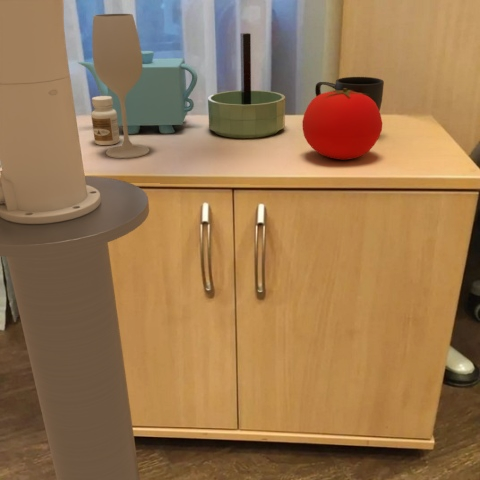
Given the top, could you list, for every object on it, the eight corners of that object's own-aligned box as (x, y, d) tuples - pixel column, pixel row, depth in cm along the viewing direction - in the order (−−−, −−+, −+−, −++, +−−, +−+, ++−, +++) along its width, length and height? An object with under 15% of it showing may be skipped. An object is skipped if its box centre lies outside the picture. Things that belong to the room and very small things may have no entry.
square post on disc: (239, 129, 111) (238, 35, 103) (231, 124, 115) (229, 33, 107) (261, 127, 112) (261, 33, 105) (252, 122, 116) (252, 31, 108)
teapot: (201, 120, 122) (198, 46, 115) (197, 133, 112) (193, 54, 105) (93, 122, 122) (83, 48, 115) (79, 135, 112) (68, 56, 106)
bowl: (224, 142, 106) (223, 107, 103) (199, 125, 118) (198, 93, 115) (297, 134, 110) (298, 100, 107) (266, 118, 122) (266, 87, 119)
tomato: (391, 160, 95) (399, 90, 90) (325, 171, 91) (329, 98, 86) (351, 143, 104) (355, 79, 99) (289, 153, 100) (290, 86, 94)
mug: (323, 126, 115) (326, 74, 111) (384, 133, 110) (390, 78, 105) (306, 136, 109) (308, 81, 104) (370, 143, 104) (375, 86, 99)
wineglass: (134, 160, 97) (119, 17, 87) (95, 155, 100) (77, 16, 90) (158, 148, 103) (147, 13, 93) (121, 144, 106) (107, 13, 96)
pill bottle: (90, 144, 106) (84, 99, 103) (102, 138, 110) (97, 94, 106) (112, 146, 105) (106, 100, 101) (124, 140, 109) (119, 95, 105)
